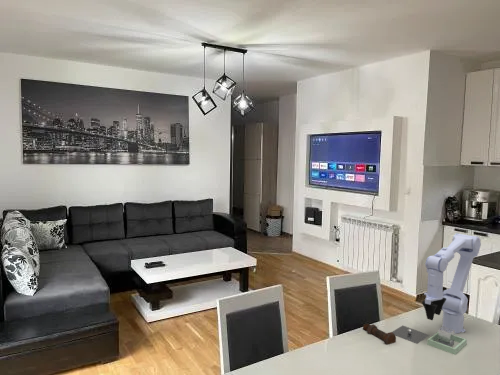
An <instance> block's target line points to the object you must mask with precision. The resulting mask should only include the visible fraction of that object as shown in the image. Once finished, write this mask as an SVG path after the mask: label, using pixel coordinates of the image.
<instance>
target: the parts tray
mask: <svg viewBox="0 0 500 375" xmlns="http://www.w3.org/2000/svg"><path fill="white" fill-rule="evenodd" d="M438 334H439V330H438V331H437V332H436V333H433V335H432V336H430V337H429V338H427V340H426V342H427V346H430V347H433V348H436V349H439V350H442V351H444V352H447V353H449V354H452V355H456V354H457V353H459V351H461V350H462V349H463V348H464V347H466V346H467V342H468V340H467V338H464V337H461V336H459V335H455V334H454V342H456V343H458V344H456V345H455V347H452V346H451V347H450V346H447V345H444V344H441V343H439V342H438Z"/></svg>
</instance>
